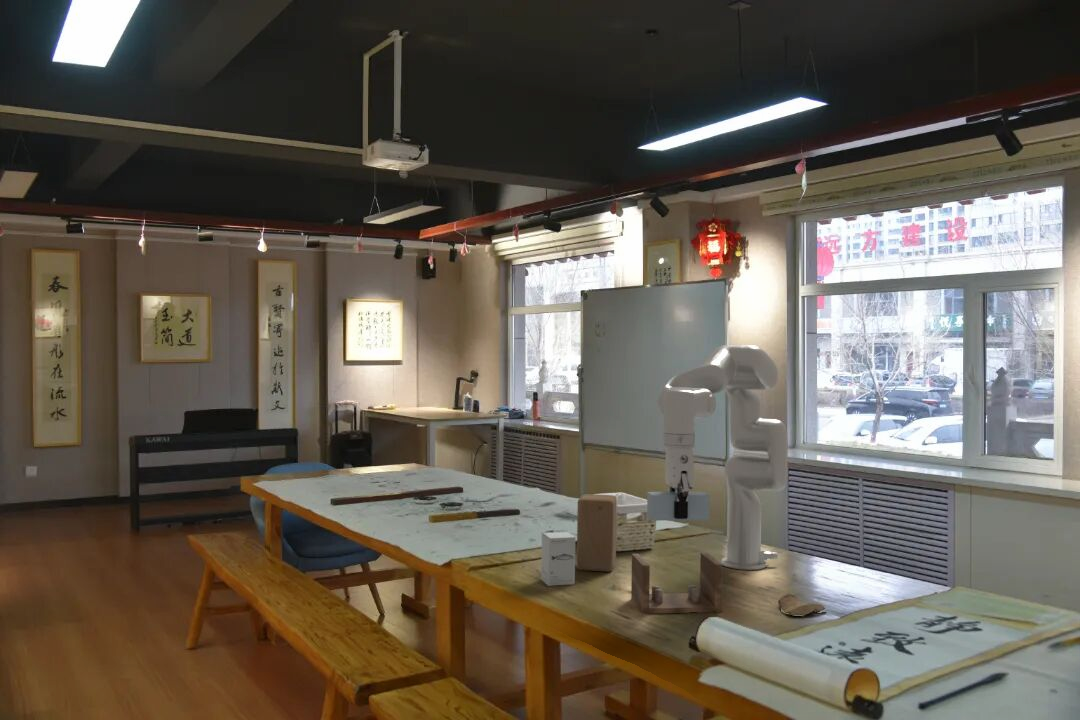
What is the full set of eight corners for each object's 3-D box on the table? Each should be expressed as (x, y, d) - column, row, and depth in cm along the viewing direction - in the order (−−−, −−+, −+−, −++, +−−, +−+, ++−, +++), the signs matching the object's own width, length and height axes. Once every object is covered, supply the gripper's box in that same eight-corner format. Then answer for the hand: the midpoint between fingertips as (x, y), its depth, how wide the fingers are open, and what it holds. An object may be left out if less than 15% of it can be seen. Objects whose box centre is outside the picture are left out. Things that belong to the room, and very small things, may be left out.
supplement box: (548, 586, 224) (548, 538, 224) (540, 579, 231) (541, 532, 231) (575, 585, 226) (576, 536, 226) (567, 577, 233) (567, 531, 233)
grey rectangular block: (703, 516, 212) (703, 491, 212) (709, 520, 207) (709, 494, 207) (647, 516, 211) (647, 492, 211) (652, 520, 206) (652, 495, 206)
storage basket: (578, 538, 284) (579, 493, 284) (622, 535, 290) (622, 491, 290) (614, 554, 262) (615, 505, 262) (660, 550, 269) (660, 502, 268)
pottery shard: (828, 619, 205) (798, 599, 213) (831, 603, 204) (801, 583, 212) (794, 628, 200) (764, 607, 208) (796, 611, 199) (767, 590, 207)
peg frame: (706, 597, 216) (706, 552, 216) (721, 611, 204) (722, 564, 204) (631, 599, 214) (631, 553, 214) (642, 613, 202) (642, 565, 202)
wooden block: (612, 572, 239) (612, 500, 239) (576, 570, 241) (577, 498, 241) (616, 564, 249) (617, 494, 249) (581, 562, 251) (582, 493, 251)
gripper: (704, 444, 201) (703, 522, 201) (684, 437, 218) (682, 509, 218) (672, 444, 200) (671, 523, 200) (654, 437, 217) (653, 510, 217)
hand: (677, 515), depth 209 cm, fingers closed on grey rectangular block, 5 cm apart
